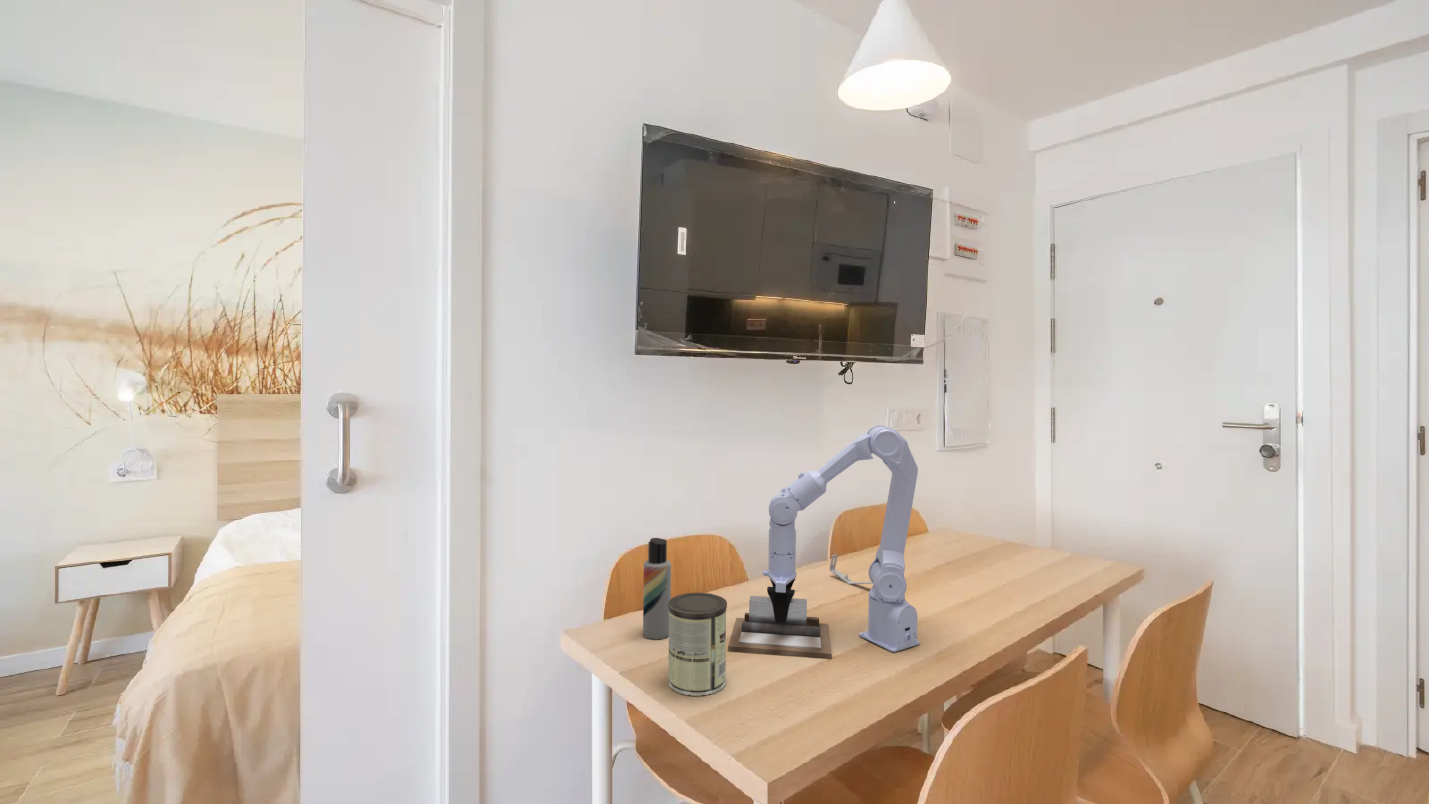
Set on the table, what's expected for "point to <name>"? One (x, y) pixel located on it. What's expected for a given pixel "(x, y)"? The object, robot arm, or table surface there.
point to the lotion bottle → (656, 590)
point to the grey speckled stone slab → (764, 611)
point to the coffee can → (697, 643)
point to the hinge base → (781, 638)
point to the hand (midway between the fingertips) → (781, 615)
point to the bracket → (842, 576)
